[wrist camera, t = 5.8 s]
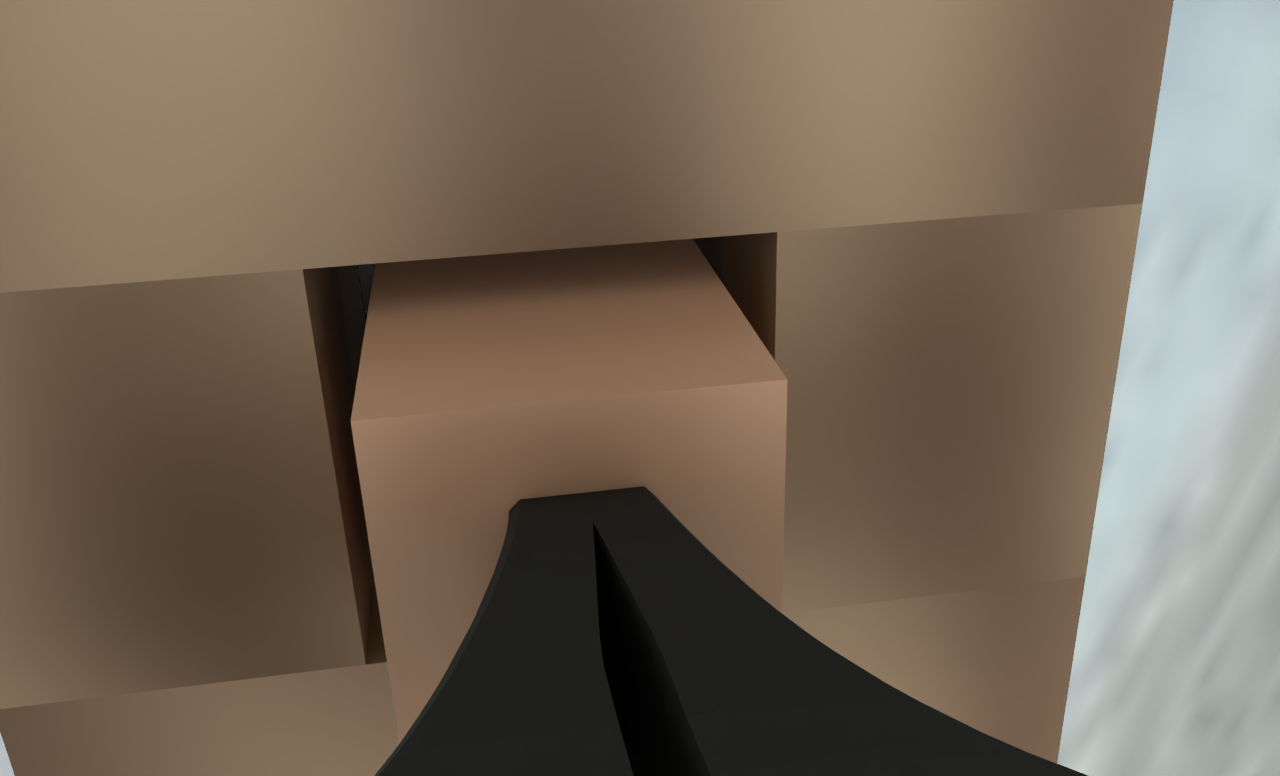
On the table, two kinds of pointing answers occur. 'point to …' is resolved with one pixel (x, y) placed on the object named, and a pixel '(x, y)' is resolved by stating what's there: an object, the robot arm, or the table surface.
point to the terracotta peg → (553, 422)
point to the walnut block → (533, 221)
